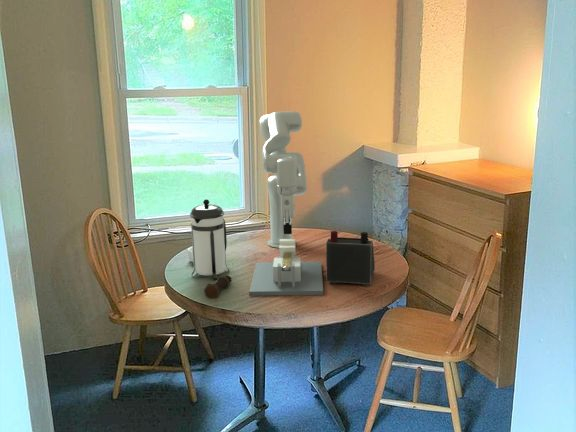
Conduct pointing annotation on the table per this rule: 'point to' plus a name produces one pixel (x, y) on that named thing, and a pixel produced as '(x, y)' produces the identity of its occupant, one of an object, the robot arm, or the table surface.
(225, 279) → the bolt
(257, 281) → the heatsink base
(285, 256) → the wooden building block
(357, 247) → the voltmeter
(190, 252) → the teacup
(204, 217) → the coffee press
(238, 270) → the table surface
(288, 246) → the block
